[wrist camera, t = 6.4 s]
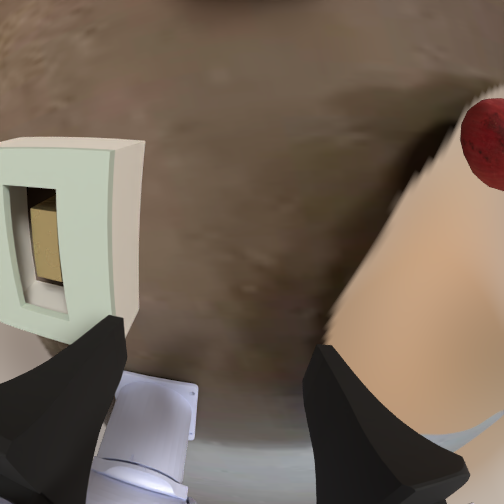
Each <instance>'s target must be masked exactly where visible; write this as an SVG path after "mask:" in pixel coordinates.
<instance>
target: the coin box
mask: <svg viewBox="0 0 504 504" xmlns="http://www.w3.org/2000/svg"><path fill="white" fill-rule="evenodd" d="M144 150H145V141H140V140H126V139H109V138H86V137H20V138H15V139H11V140H7V141H3V142H0V322H2V323H5V324H8V325H10V326H13V327H16V328H19V329H22V330H25V331H28V332H31V333H34V334H37V335H40V336H43V337H46V338H49V339H53V340H56V341H59V342H63V343H66V344H70V345H71V344H72V343H73V342H75V341H76V340H77V339H79V338H80V337H81V336H82V335H84V334H85V333H86V332H87V331H89V330H90V329H91V328H92V327H94V326H95V325H96V324H97V323H99V322H100V321H101V320H102V319H104V318H105V317H106V316H108V315H112V316H117V317H122V318H124V330H125V338H126V335H127V333H128V331H129V329H130V327H131V325H132V323H133V321H134V319H135V316H136V314H137V312H138V310H139V222H140V201H141V185H142V172H143V161H144ZM27 187H37V188H48V189H56V207H57V227H58V240H59V251H60V261H61V270H62V277H63V285H64V287H63V286H58V285H54V284H50V283H46V282H42V281H37V280H36V275H35V269H34V262H33V255H32V248H31V239H30V230H29V219H28V205H27Z"/></svg>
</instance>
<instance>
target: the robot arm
mask: <svg viewBox="0 0 504 504" xmlns="http://www.w3.org/2000/svg"><path fill="white" fill-rule="evenodd" d="M126 360H127V350H126V341H125V330H124V318H122V317H117V316H112V315H108V316H106V317H105V318H104V319H102V320H101V321H100V322H99V323H97V324H96V325H95V326H94V327H92V328H91V329H90V330H89V331H87V332H86V333H85V334H84V335H82V336H81V337H80V338H79V339H77V340H76V341H75V342H73V343H72V344H71V345H69V346H68V347H67V348H65V349H64V350H62V351H61V352H60V353H58V354H57V355H55V356H54V357H52V358H51V359H49V360H48V361H46V362H45V363H43V364H41V365H39V366H38V367H36V368H34V369H33V370H30V371H28V372H26V373H24V374H22V375H20V376H18V377H16V378H14V379H11V380H9V381H7V382H4V383H1V384H0V504H197V503H196V501H195V500H194V499H193V498H192V497H187V492H188V486H185V485H182V482H183V474H184V466H185V458H186V451H187V444H188V440H194V438H195V425H196V412H197V399H198V386H197V385H196V384H192V383H186V382H180V381H174V380H168V379H163V378H157V377H152V376H147V375H142V374H138V373H133V372H128V371H124V367H125V364H126ZM302 382H303V399H304V407H305V412H306V417H307V422H308V427H309V432H310V437H311V442H312V447H313V452H314V459H315V473H316V497H317V504H447V503H446V500H445V499H446V498H447V497H449V496H450V495H451V494H453V493H454V492H455V491H457V490H458V489H459V488H461V487H462V486H463V485H464V484H465V483H466V482H467V481H468V479H469V477H470V473H469V471H468V468H467V466H466V464H465V462H464V459H463V457H461V456H459V455H457V454H455V453H453V452H451V451H449V450H446V449H444V448H442V447H440V446H438V445H437V444H435V443H433V442H431V441H430V440H428V439H426V438H425V437H423V436H422V435H420V434H418V433H417V432H416V431H414V430H413V429H411V428H410V427H409V426H407V425H406V424H404V423H403V422H402V421H401V420H400V419H398V418H397V417H396V416H395V415H394V414H393V413H391V412H390V411H389V410H388V409H387V408H386V407H385V406H384V405H383V404H382V403H381V402H379V401H378V399H377V398H376V397H375V396H374V395H373V394H372V393H371V392H370V391H369V390H368V389H367V388H366V386H365V385H364V384H363V383H362V382H361V381H360V380H359V378H358V377H357V376H356V375H355V374H354V372H353V371H352V370H351V369H350V367H349V366H348V365H347V364H346V362H345V361H344V360H343V359H342V357H341V356H340V355H339V354H338V352H337V351H336V350H335V349H334V348H333V346H332V345H318V344H317V345H316V348H315V350H314V353H313V355H312V358H311V361H310V363H309V366H308V368H307V371H306V373H305V376H304V378H303V381H302ZM114 395H115V399H116V402H115V405H114V408H113V410H112V413H111V416H110V419H109V422H108V424H107V427H106V430H105V433H104V437H103V439H102V442H101V445H100V448H99V451H98V454H97V457H96V456H95V457H94V459H93V456H94V451H95V447H96V443H97V440H98V436H99V432H100V429H101V426H102V424H103V421H104V419H105V416H106V414H107V411H108V409H109V407H110V404H111V402H112V400H113V397H114ZM92 461H93V462H92ZM469 504H474V503H469Z"/></svg>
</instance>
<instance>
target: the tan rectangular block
mask: <svg viewBox="0 0 504 504" xmlns="http://www.w3.org/2000/svg"><path fill="white" fill-rule="evenodd" d="M30 209H31V224H32V235H33V245H34V254H35V262H36V269H37V275H38V276H39V277H43V278H47V279H51V280H56V281H60V282H63V277H62V270H61V261H60V251H59V240H58V227H57V207H56V195H54V196H52V197H50V198H48V199H46V200H45V201H43V202H41V203H39V204H37V205H36V206H34V207H32V208H30Z"/></svg>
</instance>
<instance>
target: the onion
mask: <svg viewBox="0 0 504 504" xmlns="http://www.w3.org/2000/svg"><path fill="white" fill-rule="evenodd" d="M460 141H461V145H462V149H463V153H464V156H465V158H466V160H467V162H468V164H469V166H470V168H471V170H472V172H473V173H474V174H475V175H476V176H477V177H478V178H479V179H480V180H481V181H482V182H483V183H485V184H486V185H488V186H489V187H492V188H495V189H498V190H502V191H504V99H502V98H496V99H485V100H481V101H480V102H479V103H477V104H476V105H474V106H473V107H471V108H470V109H469V110H468V111H467V113H466V115H465V118H464V120H463V122H462V124H461V138H460Z"/></svg>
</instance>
